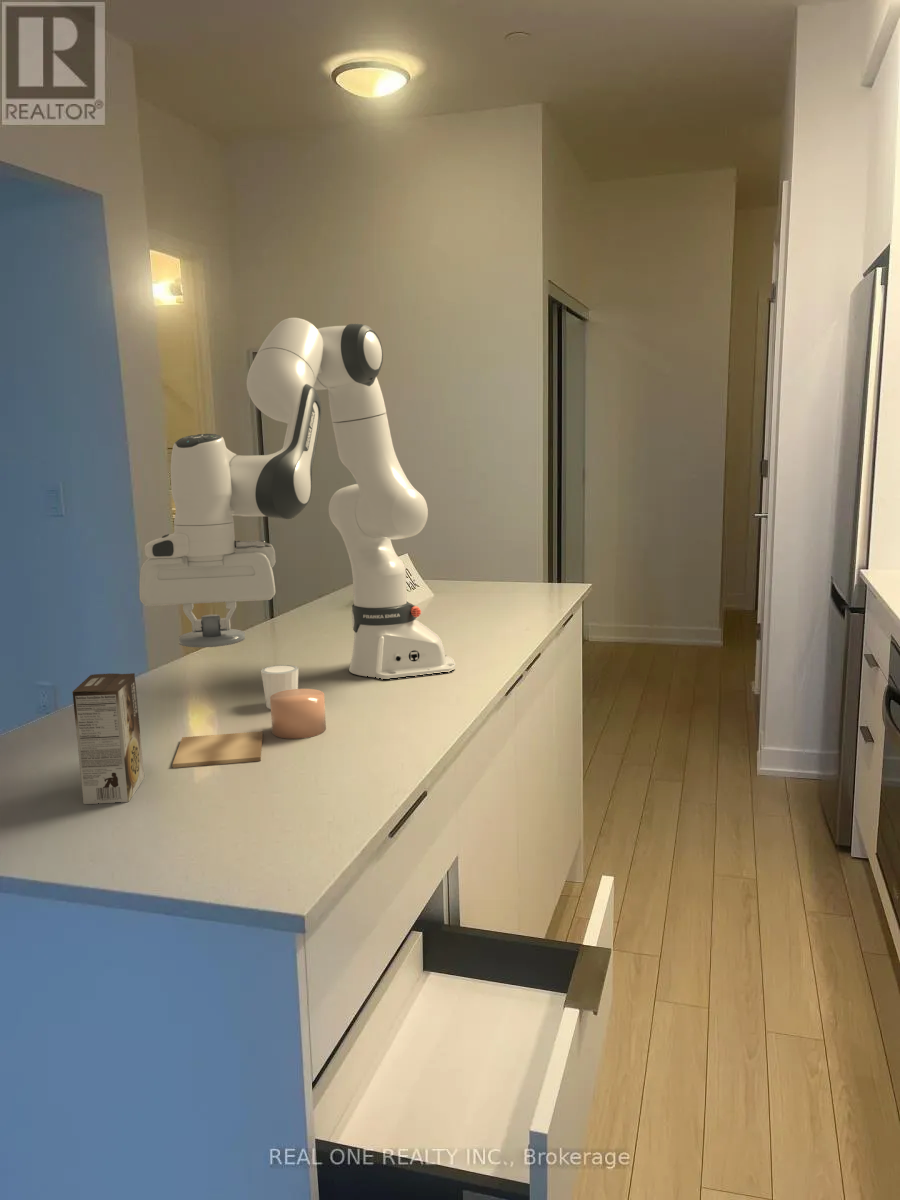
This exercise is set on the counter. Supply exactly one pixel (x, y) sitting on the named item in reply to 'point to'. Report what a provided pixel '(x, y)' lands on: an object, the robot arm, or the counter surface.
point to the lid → (211, 634)
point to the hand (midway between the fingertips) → (211, 630)
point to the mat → (219, 749)
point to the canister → (298, 713)
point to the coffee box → (108, 738)
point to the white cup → (278, 680)
